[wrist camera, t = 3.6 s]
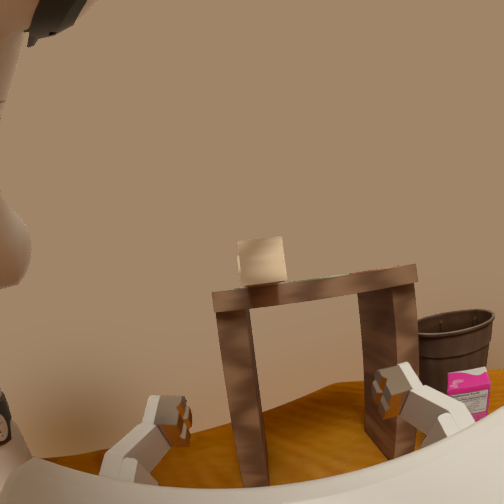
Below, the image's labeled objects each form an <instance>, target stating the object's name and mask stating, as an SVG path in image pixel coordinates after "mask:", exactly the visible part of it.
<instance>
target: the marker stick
mask: <svg viewBox="0 0 504 504" xmlns="http://www.w3.org/2000/svg"><path fill="white" fill-rule="evenodd" d="M238 251H239V256H237V260H238V269H239V277H240V286H241V288H245V287H253V286H262V285H270V284H278V283H282V282H284V281H286V280H287V273H286V265H285V258H284V250H283V243H282V237H281V236H279V237H270V238H262V239H254V240H245V241H238Z"/></svg>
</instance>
